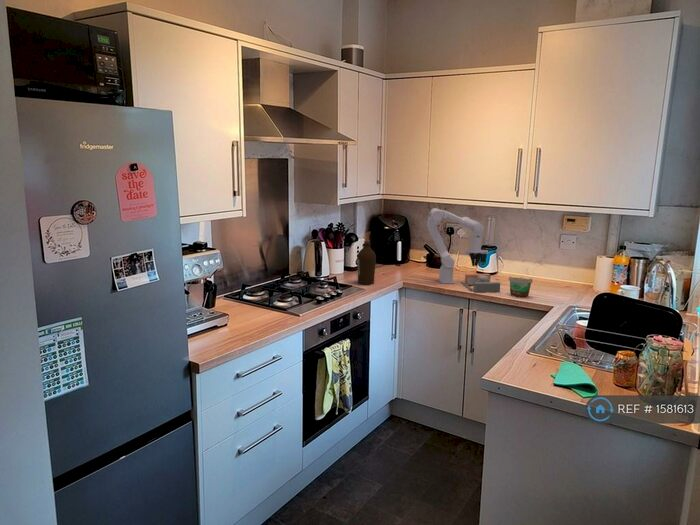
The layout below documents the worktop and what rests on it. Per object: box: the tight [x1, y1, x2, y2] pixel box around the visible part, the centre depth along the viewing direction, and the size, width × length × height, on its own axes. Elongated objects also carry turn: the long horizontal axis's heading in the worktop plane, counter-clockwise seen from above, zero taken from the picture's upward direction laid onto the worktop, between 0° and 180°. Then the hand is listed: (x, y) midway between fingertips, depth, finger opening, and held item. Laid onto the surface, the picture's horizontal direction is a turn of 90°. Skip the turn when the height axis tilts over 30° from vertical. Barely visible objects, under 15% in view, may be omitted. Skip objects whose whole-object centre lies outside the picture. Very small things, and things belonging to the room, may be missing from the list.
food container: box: [508, 276, 534, 298], centre depth 271 cm, size 12×6×10 cm, turn 62°
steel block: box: [476, 275, 488, 282], centre depth 287 cm, size 5×5×7 cm
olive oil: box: [356, 239, 377, 286], centre depth 292 cm, size 11×11×25 cm
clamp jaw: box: [464, 273, 492, 286], centre depth 294 cm, size 3×14×6 cm, turn 96°
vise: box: [460, 281, 501, 294], centre depth 288 cm, size 20×17×5 cm
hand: (474, 265), depth 298 cm, fingers closed
